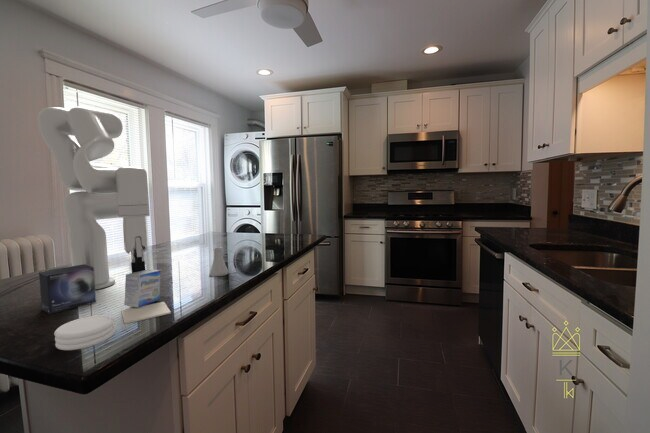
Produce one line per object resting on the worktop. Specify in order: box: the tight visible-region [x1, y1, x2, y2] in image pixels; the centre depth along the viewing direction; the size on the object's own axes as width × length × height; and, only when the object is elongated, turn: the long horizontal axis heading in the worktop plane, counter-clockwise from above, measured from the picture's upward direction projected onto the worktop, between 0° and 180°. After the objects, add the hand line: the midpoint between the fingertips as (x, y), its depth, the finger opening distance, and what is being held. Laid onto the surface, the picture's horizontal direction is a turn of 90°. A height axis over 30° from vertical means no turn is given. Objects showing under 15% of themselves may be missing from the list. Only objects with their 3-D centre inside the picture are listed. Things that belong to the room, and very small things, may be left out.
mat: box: [120, 301, 172, 325], centre depth 80 cm, size 10×10×1 cm
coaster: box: [53, 314, 116, 351], centre depth 66 cm, size 10×10×4 cm
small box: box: [38, 264, 97, 315], centre depth 85 cm, size 11×6×10 cm, turn 148°
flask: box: [208, 247, 230, 277], centre depth 116 cm, size 7×7×10 cm
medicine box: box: [123, 268, 162, 308], centre depth 85 cm, size 8×4×9 cm, turn 168°
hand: (138, 275), depth 89 cm, fingers closed
